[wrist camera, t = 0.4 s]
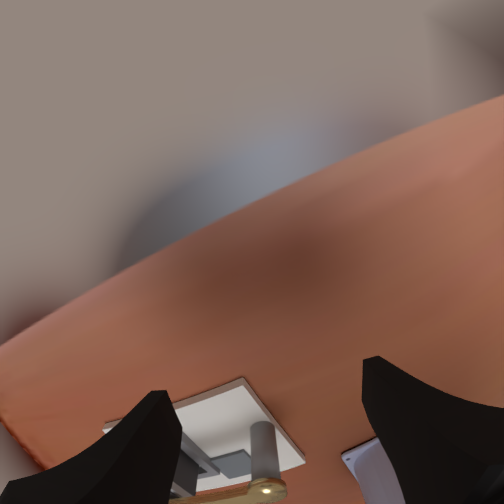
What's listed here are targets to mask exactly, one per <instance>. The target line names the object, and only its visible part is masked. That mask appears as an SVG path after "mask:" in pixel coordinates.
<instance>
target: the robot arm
mask: <svg viewBox="0 0 504 504" xmlns="http://www.w3.org/2000/svg"><path fill="white" fill-rule="evenodd" d="M362 403H363V405H364V408H365V411H366V414H367V417H368V419H369V422H370V424H371V426H372V428H373V430H374V432H375V433H376V435H377V438H375V439H373V440H371V441H369V442H367V443H365V444H363V445H360V446H358V447H356V448H354V449H352V450H350V451H347V452H345V453H343V454H342V455H341V457H342V460H343V461H344V463H345V464H346V465H347V467H348V468H349V470H350V471H351V473H352V474H353V476H354V477H355V478H356V480H357V481H358V483H359V486H360V489H361V491H362V494H363V497H364V500H365V503H366V504H504V408H499V407H492V406H487V405H483V404H479V403H474V402H471V401H467V400H464V399H461V398H458V397H455V396H453V395H450V394H447V393H445V392H443V391H440V390H438V389H436V388H434V387H432V386H430V385H428V384H426V383H424V382H422V381H420V380H418V379H416V378H415V377H413V376H411V375H409V374H408V373H406V372H404V371H403V370H401V369H399V368H398V367H396V366H395V365H393V364H391V363H390V362H388V361H387V360H385V359H383V358H382V357H380V356H375V357H371V358H368V359H364V360H363V379H362ZM182 428H183V427H182V425H181V423H180V421H179V418H178V416H177V414H176V412H175V409H174V407H173V405H172V403H171V400H170V398H169V396H168V393H167V391H166V390H158V391H151V392H150V393H148V394H147V395H146V396H145V397H144V398H143V399H142V400H141V401H140V402H139V403H138V404H137V405H136V406H135V407H134V408H133V409H132V410H131V411H130V412H129V413H128V414H127V415H126V416H125V417H124V418H123V419H122V420H121V421H120V422H119V423H118V424H117V425H115V426H114V427H113V428H112V429H111V430H110V431H109V432H107V433H106V434H105V435H104V436H103V437H102V438H100V439H99V440H98V441H97V442H95V443H94V444H93V445H91V446H90V447H88V448H87V449H85V450H84V451H82V452H81V453H79V454H78V455H76V456H74V457H72V458H71V459H69V460H67V461H65V462H63V463H61V464H59V465H57V466H55V467H53V468H51V469H48V470H46V471H43V472H41V473H38V474H35V475H32V476H28V477H25V478H21V479H17V480H13V481H9V482H8V484H7V485H6V487H5V489H4V490H3V492H2V494H1V496H0V504H168V503H169V497H170V492H171V488H172V484H173V479H174V475H175V471H176V467H177V463H178V459H179V454H180V450H181V441H182Z"/></svg>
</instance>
